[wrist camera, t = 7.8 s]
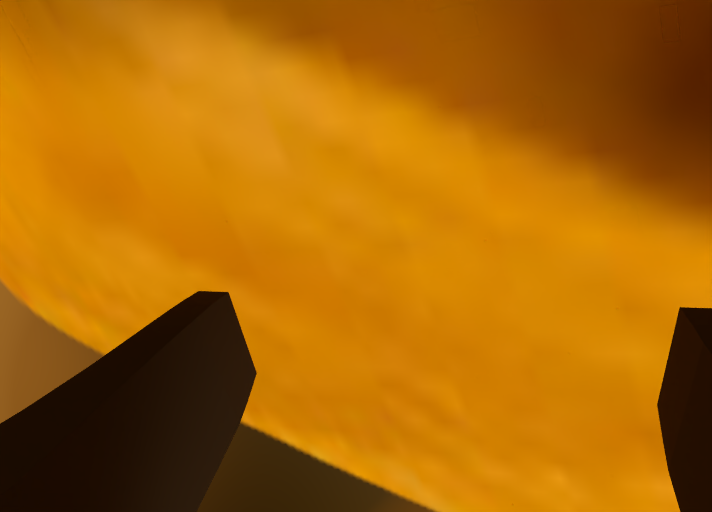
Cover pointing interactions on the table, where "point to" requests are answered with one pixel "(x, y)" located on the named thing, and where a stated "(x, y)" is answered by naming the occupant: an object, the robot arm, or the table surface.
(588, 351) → the table surface
